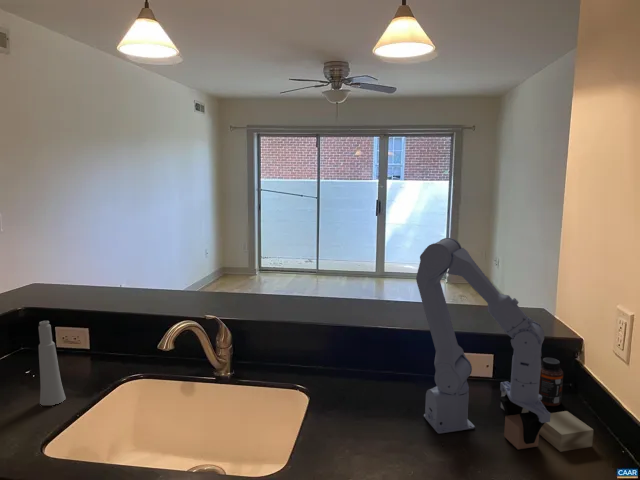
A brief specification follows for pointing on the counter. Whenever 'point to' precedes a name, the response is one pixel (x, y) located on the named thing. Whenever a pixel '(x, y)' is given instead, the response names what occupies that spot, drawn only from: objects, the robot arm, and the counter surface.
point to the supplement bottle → (551, 382)
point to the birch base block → (566, 432)
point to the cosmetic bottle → (49, 368)
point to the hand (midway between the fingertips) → (521, 435)
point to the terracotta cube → (516, 432)
